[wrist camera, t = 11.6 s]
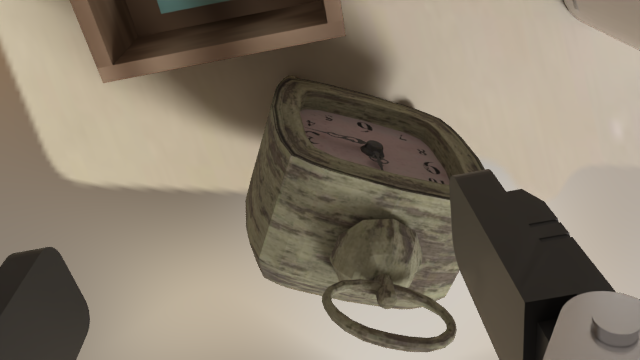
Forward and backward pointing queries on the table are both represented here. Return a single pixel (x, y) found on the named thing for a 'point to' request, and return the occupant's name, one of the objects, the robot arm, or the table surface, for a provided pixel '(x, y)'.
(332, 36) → the walled box
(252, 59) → the table surface
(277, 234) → the tabletop clock
